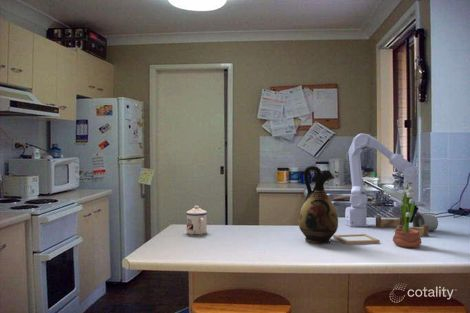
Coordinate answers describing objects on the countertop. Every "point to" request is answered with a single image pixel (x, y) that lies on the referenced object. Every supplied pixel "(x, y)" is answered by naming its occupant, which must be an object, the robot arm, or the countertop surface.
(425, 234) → the cedar frame
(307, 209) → the ceramic jug
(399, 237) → the potted flower
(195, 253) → the countertop surface
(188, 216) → the teacup with lid
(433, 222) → the ceramic mug
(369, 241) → the frame lid
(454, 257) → the countertop surface
